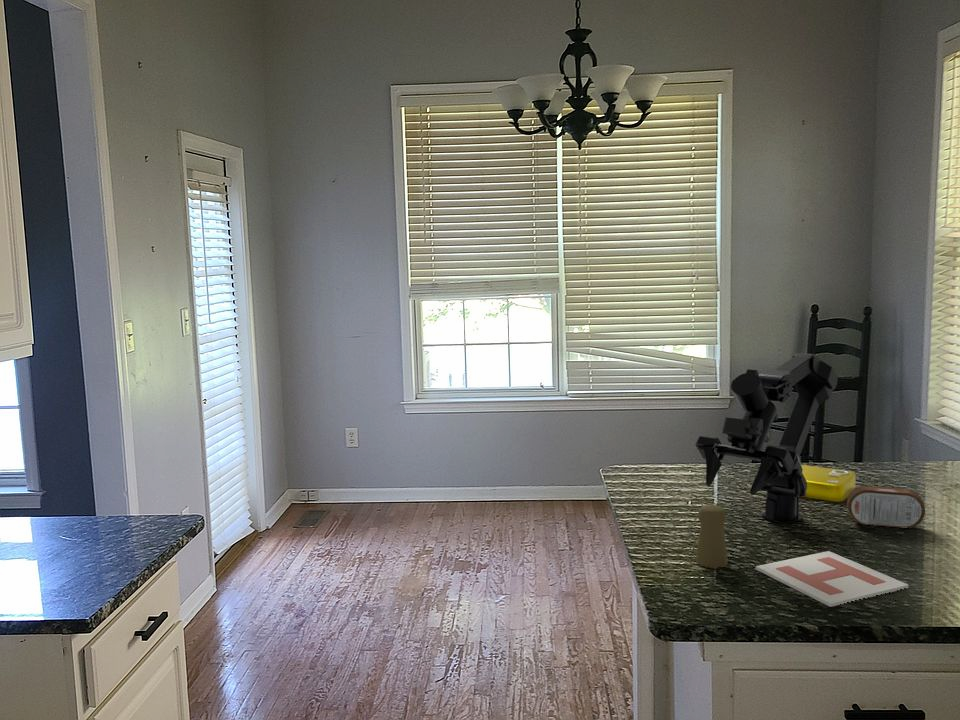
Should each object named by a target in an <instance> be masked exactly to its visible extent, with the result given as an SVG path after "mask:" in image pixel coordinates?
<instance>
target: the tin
mask: <svg viewBox="0 0 960 720" xmlns="http://www.w3.org/2000/svg"><path fill="white" fill-rule="evenodd" d="M846 509H847V511H848V513H849V515H850V517H851V518H852V520H854V521H855V522H857V523H858V524H860V525H863V526H867V525H871V526H870V527H877V526H886V527H885V528H889V527H907V528H909V529H913V528H915V527H917V526H918V525H919V524H921V523H922V521H923V519H924V517H925V514H926V507H925V505H924V501H923V499H922V498H921V496H920V495H919V494H918V493H917V492H916V491H914V490H911V489H908V488H899V487H898V488H897V487H886V486H876V485H862V486H858V487H857V488H856V487H855V489H854V490H853V491H852V492H851V493H850V494H849V496H848V497H847V498H846ZM872 525H873V526H872ZM887 526H889V527H887Z"/></svg>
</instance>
